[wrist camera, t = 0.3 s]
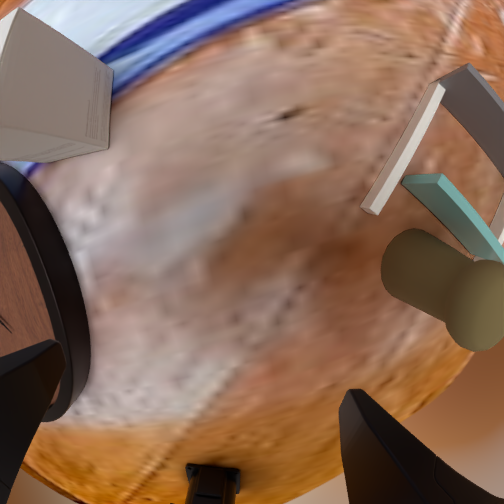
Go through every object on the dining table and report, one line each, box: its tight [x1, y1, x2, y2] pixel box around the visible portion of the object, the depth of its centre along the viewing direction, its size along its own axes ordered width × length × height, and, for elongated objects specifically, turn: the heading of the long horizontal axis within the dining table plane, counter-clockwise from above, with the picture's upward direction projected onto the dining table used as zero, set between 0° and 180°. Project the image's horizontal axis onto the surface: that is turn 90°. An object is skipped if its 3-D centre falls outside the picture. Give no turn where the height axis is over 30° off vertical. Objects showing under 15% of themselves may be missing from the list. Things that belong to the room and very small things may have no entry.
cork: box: [381, 229, 504, 352], centre depth 15 cm, size 6×6×11 cm
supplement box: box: [0, 7, 113, 163], centre depth 12 cm, size 7×7×13 cm
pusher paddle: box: [401, 173, 504, 265], centre depth 17 cm, size 1×10×5 cm, turn 58°
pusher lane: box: [360, 63, 504, 262], centre depth 16 cm, size 13×14×6 cm
